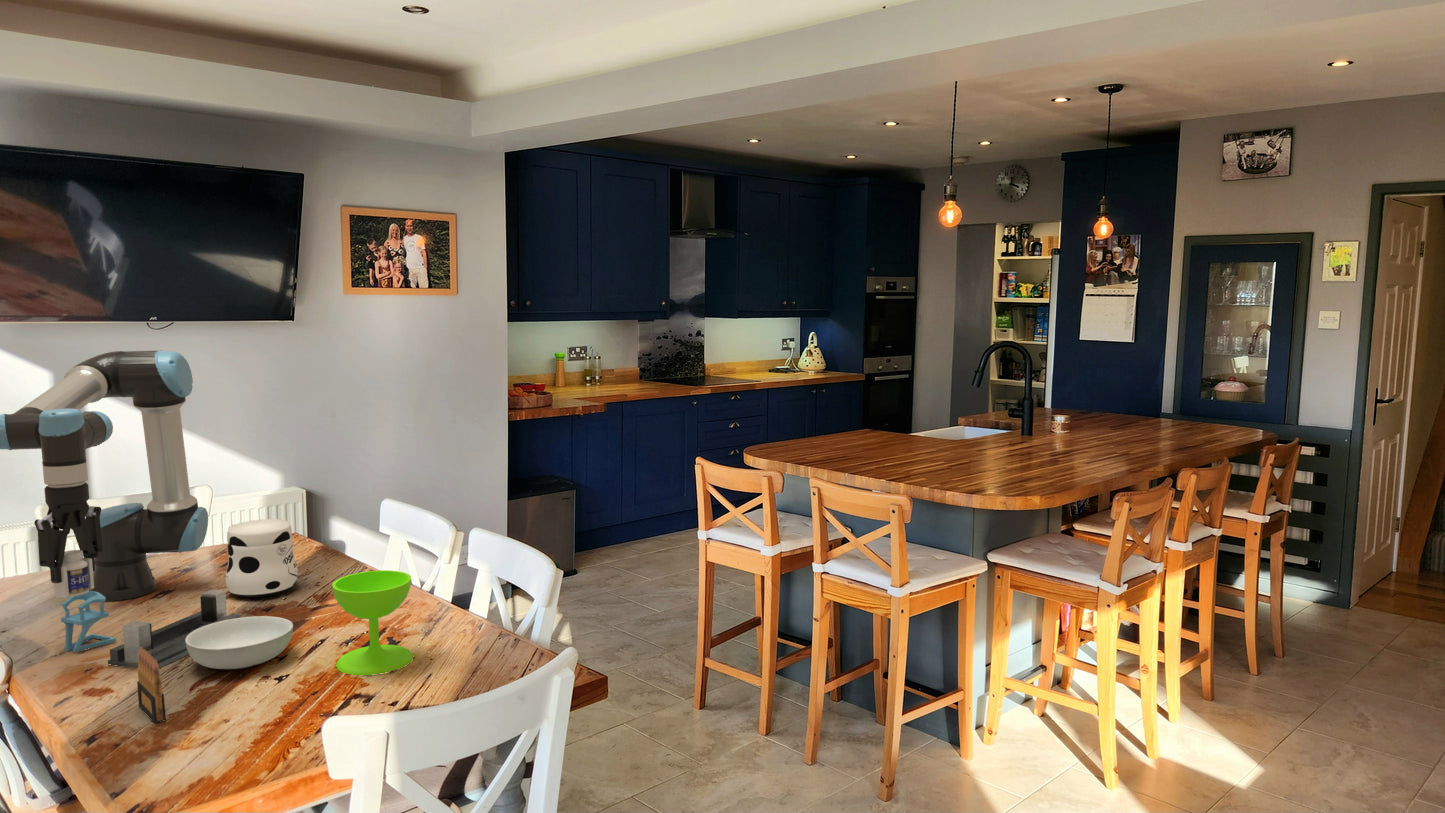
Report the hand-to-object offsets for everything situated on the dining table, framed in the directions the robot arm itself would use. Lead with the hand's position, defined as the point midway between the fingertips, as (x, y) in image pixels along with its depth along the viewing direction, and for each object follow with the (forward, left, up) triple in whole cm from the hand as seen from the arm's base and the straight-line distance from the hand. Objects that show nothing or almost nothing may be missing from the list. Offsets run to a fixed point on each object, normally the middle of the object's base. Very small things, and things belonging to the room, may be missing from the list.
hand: (74, 592), depth 200 cm
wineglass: (-19, +58, -17) cm, 63 cm away
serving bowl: (-12, +30, -17) cm, 36 cm away
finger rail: (-16, +10, -17) cm, 25 cm away
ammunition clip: (+14, +32, -17) cm, 39 cm away
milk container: (-54, +1, -17) cm, 56 cm away
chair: (-11, -10, -17) cm, 22 cm away
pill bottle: (0, 0, 0) cm, 1 cm away
